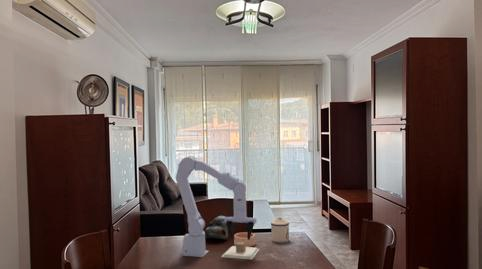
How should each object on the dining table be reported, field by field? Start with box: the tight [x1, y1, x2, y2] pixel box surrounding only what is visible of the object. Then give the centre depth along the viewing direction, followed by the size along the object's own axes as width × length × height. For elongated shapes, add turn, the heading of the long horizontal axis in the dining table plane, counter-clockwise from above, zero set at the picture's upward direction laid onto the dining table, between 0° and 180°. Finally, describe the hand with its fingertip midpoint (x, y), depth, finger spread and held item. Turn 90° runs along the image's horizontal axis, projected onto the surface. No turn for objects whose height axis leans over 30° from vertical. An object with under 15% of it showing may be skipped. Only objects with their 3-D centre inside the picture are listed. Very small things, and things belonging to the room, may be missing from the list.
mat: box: [220, 246, 261, 260], centre depth 162 cm, size 14×14×1 cm
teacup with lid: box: [270, 216, 290, 243], centre depth 182 cm, size 12×9×12 cm
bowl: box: [233, 231, 257, 247], centre depth 175 cm, size 10×10×4 cm
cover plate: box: [223, 242, 258, 259], centre depth 162 cm, size 12×12×4 cm
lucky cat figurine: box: [204, 215, 230, 241], centre depth 186 cm, size 15×12×14 cm
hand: (240, 238), depth 162 cm, fingers open, 7 cm apart
